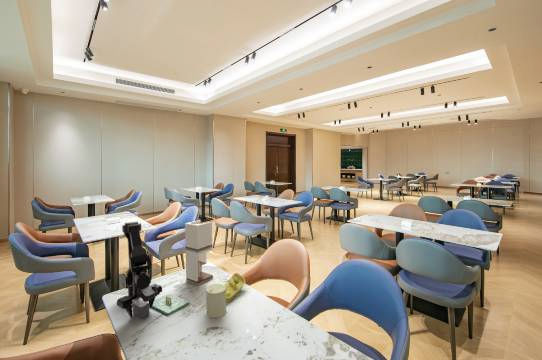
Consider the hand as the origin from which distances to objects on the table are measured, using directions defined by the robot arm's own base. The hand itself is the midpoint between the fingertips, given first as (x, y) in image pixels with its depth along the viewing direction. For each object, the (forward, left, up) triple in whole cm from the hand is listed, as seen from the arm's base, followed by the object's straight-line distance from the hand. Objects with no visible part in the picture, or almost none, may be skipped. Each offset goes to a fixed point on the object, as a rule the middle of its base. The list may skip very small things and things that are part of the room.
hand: (141, 313), depth 121 cm
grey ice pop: (-2, 0, -1) cm, 2 cm away
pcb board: (+2, +13, -1) cm, 13 cm away
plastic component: (+20, +38, -2) cm, 43 cm away
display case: (-7, +41, -2) cm, 42 cm away
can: (+27, +21, -2) cm, 34 cm away
